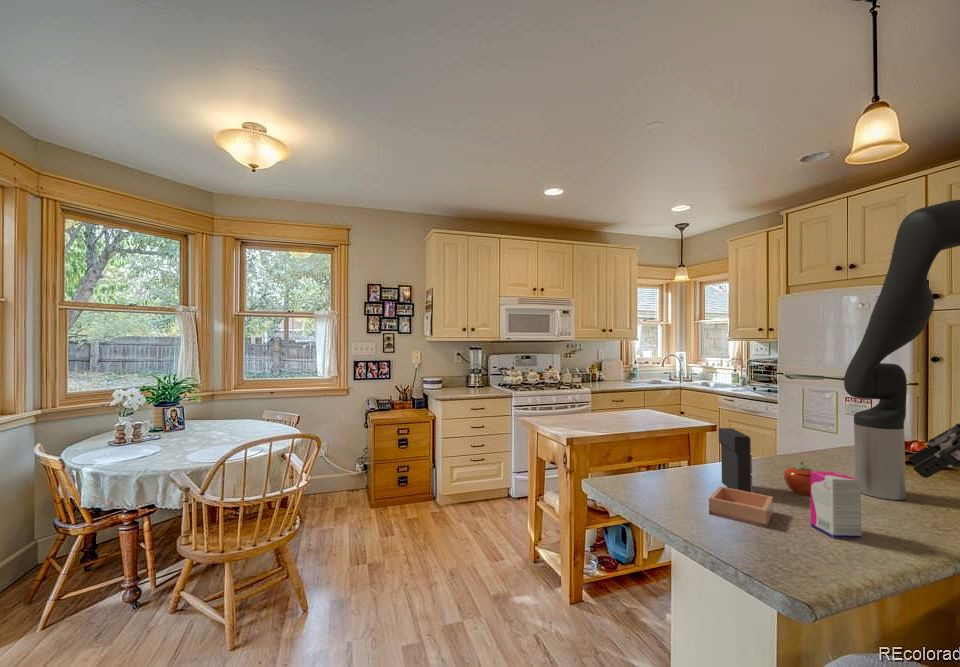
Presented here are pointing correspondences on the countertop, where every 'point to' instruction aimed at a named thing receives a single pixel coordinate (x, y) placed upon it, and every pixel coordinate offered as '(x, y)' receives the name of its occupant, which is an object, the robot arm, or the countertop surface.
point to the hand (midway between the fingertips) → (915, 467)
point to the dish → (741, 506)
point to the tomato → (798, 478)
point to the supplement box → (836, 504)
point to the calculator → (736, 459)
